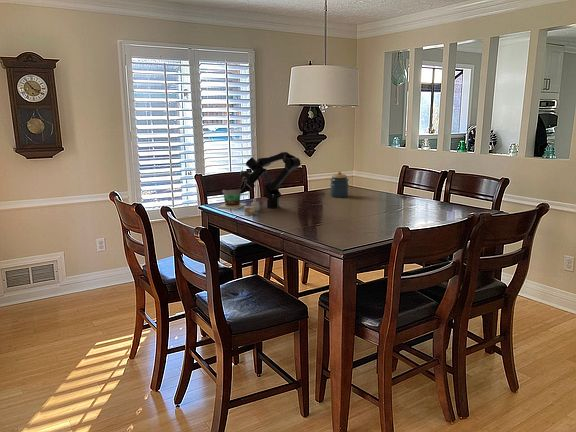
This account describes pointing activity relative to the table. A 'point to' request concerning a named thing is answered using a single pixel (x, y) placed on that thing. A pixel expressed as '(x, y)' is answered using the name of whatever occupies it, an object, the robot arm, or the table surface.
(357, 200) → the table surface
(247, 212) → the birch block
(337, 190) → the canister
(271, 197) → the robot arm
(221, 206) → the cream tile
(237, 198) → the food container
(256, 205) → the grey plastic cylinder
